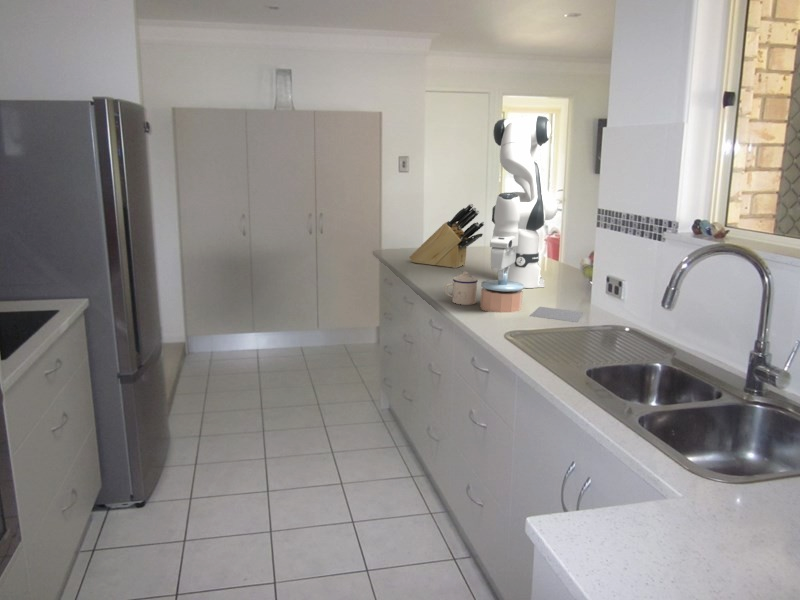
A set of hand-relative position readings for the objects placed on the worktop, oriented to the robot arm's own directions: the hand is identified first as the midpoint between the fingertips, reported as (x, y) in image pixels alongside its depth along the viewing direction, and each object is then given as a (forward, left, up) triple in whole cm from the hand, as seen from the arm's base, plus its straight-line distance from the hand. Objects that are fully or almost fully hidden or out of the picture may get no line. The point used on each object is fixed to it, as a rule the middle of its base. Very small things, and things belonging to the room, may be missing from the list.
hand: (502, 278), depth 230 cm
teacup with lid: (-2, -16, -11) cm, 20 cm away
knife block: (-76, -49, -11) cm, 91 cm away
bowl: (0, 0, -11) cm, 11 cm away
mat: (-1, +20, -11) cm, 23 cm away
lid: (0, 0, -3) cm, 3 cm away
